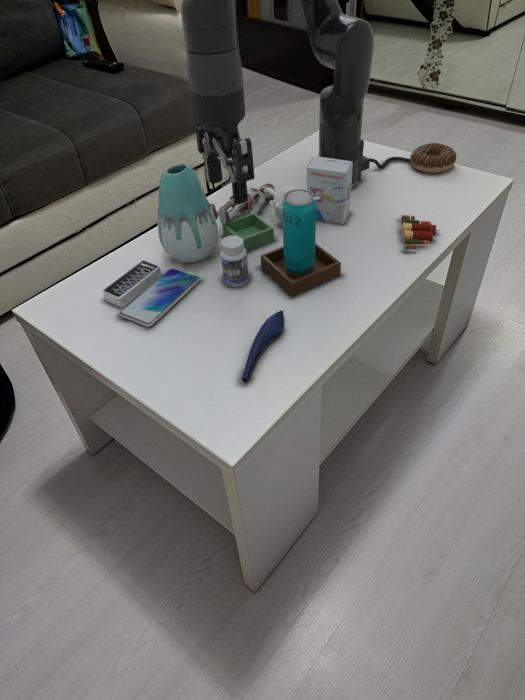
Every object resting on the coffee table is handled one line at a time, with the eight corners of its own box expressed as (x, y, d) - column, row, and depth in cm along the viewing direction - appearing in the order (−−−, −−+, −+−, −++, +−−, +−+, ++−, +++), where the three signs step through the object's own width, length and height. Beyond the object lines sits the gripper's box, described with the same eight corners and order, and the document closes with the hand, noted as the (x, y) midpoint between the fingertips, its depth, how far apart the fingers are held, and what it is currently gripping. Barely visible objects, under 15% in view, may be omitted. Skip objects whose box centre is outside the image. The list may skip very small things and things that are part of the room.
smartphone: (117, 313, 87) (170, 267, 96) (119, 317, 88) (171, 271, 96) (149, 325, 84) (200, 276, 93) (150, 329, 85) (201, 280, 93)
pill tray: (255, 224, 106) (254, 212, 104) (274, 240, 102) (273, 228, 100) (223, 236, 104) (222, 223, 102) (241, 253, 99) (240, 240, 97)
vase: (152, 255, 101) (130, 170, 88) (194, 230, 106) (179, 147, 93) (189, 277, 95) (171, 189, 82) (232, 249, 100) (222, 163, 88)
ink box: (305, 219, 107) (305, 166, 98) (312, 207, 110) (313, 155, 102) (343, 225, 104) (347, 171, 96) (350, 213, 107) (354, 160, 99)
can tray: (307, 249, 99) (307, 236, 97) (340, 275, 92) (341, 262, 90) (261, 268, 95) (260, 255, 93) (292, 297, 89) (291, 283, 87)
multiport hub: (105, 300, 91) (101, 290, 90) (145, 269, 97) (143, 259, 96) (122, 308, 89) (118, 298, 88) (162, 275, 95) (160, 266, 94)
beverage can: (293, 257, 96) (291, 185, 86) (319, 265, 94) (322, 191, 83) (278, 273, 93) (275, 200, 82) (306, 282, 91) (306, 207, 80)
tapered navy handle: (253, 389, 76) (255, 380, 74) (232, 380, 76) (233, 371, 74) (290, 318, 85) (292, 309, 83) (271, 311, 85) (273, 302, 83)
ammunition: (404, 252, 96) (438, 254, 95) (406, 243, 94) (441, 244, 94) (400, 220, 104) (431, 222, 104) (402, 211, 103) (434, 212, 102)
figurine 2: (273, 217, 111) (253, 225, 103) (277, 178, 107) (257, 184, 99) (324, 228, 107) (307, 237, 99) (330, 188, 103) (313, 194, 95)
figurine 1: (203, 202, 100) (260, 174, 113) (205, 228, 104) (261, 199, 117) (226, 207, 98) (282, 179, 110) (228, 235, 101) (282, 204, 114)
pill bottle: (219, 284, 93) (213, 246, 87) (230, 270, 96) (225, 232, 90) (242, 289, 91) (238, 250, 85) (253, 274, 94) (249, 236, 88)
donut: (463, 170, 118) (467, 153, 115) (423, 179, 116) (426, 162, 113) (439, 153, 125) (442, 137, 122) (401, 161, 123) (403, 145, 120)
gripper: (265, 91, 66) (270, 202, 78) (216, 66, 75) (227, 169, 86) (215, 104, 64) (228, 217, 75) (171, 77, 72) (188, 182, 84)
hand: (228, 191), depth 81 cm, fingers open, 8 cm apart
